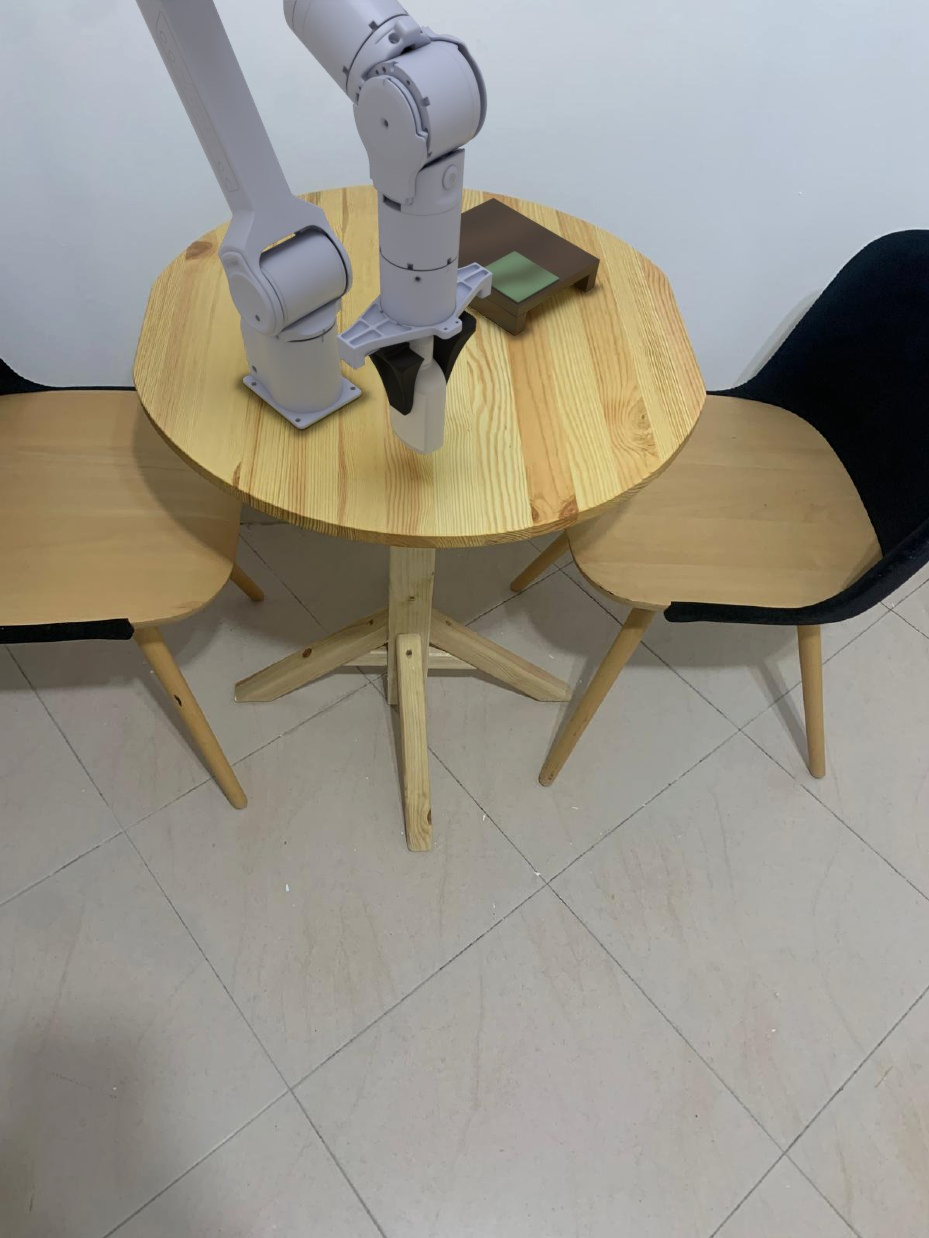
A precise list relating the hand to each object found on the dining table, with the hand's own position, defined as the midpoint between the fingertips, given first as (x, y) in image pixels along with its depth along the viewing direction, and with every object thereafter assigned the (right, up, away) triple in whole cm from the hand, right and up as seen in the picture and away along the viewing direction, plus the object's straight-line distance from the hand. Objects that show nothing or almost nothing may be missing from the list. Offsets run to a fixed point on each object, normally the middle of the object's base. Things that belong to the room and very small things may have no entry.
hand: (416, 398), depth 66 cm
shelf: (+9, +21, +25) cm, 34 cm away
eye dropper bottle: (0, -3, +4) cm, 5 cm away
